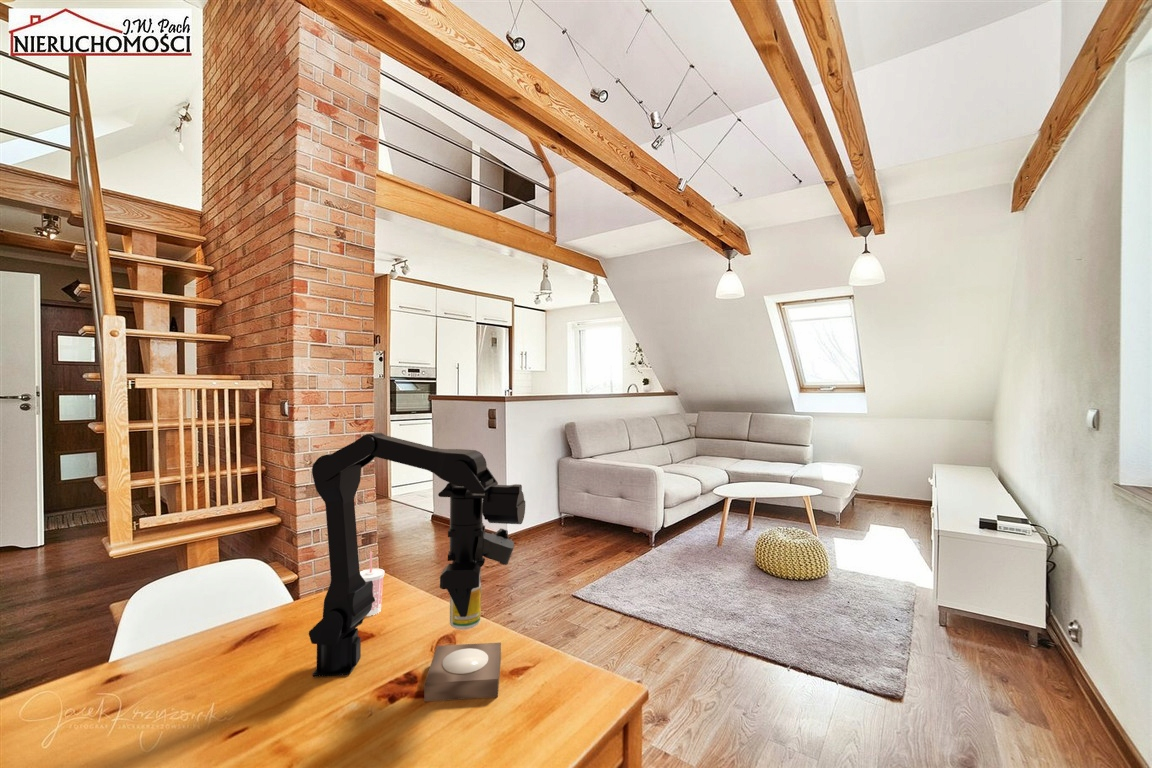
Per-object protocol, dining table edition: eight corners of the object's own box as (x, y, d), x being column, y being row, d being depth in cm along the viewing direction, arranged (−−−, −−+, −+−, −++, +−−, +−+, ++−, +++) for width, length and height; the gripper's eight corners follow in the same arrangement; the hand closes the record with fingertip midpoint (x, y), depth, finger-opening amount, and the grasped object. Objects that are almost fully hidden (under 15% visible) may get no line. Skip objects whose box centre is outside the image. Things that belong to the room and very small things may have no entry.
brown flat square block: (424, 701, 80) (424, 682, 80) (436, 661, 92) (437, 644, 92) (497, 696, 82) (497, 677, 82) (500, 658, 94) (501, 641, 94)
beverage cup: (370, 604, 117) (371, 545, 117) (390, 609, 115) (390, 549, 115) (349, 615, 112) (350, 553, 112) (369, 620, 109) (370, 557, 109)
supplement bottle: (444, 622, 88) (445, 568, 88) (471, 614, 91) (472, 562, 91) (458, 633, 83) (458, 576, 84) (486, 624, 87) (486, 570, 87)
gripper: (510, 535, 79) (509, 632, 79) (512, 508, 98) (511, 586, 97) (439, 537, 78) (438, 635, 78) (455, 509, 96) (455, 589, 96)
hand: (465, 609), depth 87 cm, fingers closed on supplement bottle, 5 cm apart
